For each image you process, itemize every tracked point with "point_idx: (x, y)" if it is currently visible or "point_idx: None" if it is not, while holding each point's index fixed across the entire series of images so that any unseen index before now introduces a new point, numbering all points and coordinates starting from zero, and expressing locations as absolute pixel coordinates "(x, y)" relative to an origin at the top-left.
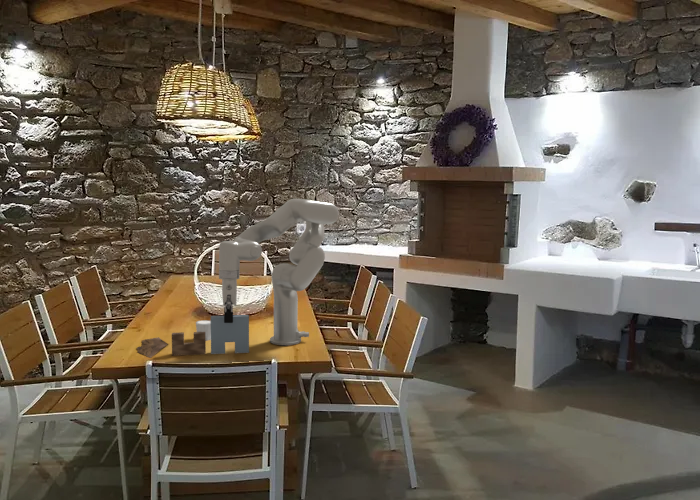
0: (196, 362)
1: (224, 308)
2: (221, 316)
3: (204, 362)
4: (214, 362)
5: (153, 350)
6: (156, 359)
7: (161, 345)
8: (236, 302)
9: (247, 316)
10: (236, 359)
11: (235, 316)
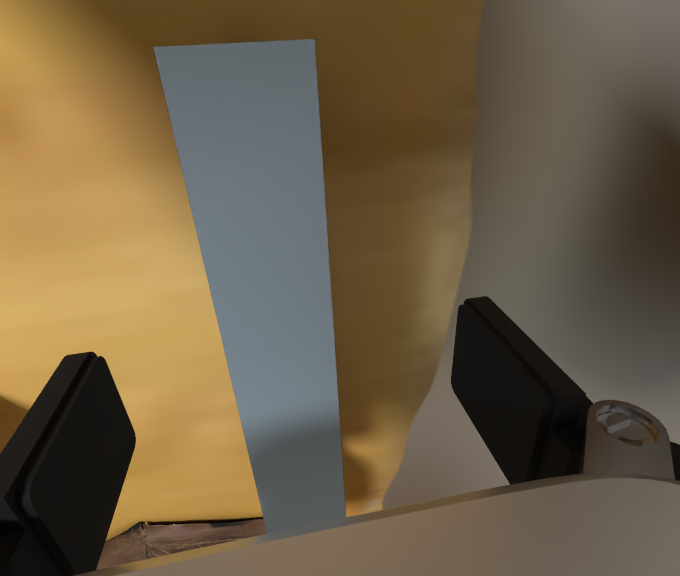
0: (438, 350)
1: (90, 562)
2: (306, 470)
3: (446, 316)
4: (458, 269)
5: (245, 536)
6: (366, 492)
7: (166, 538)
8: (638, 563)
9: (316, 77)
10: (428, 145)
11: (314, 309)
